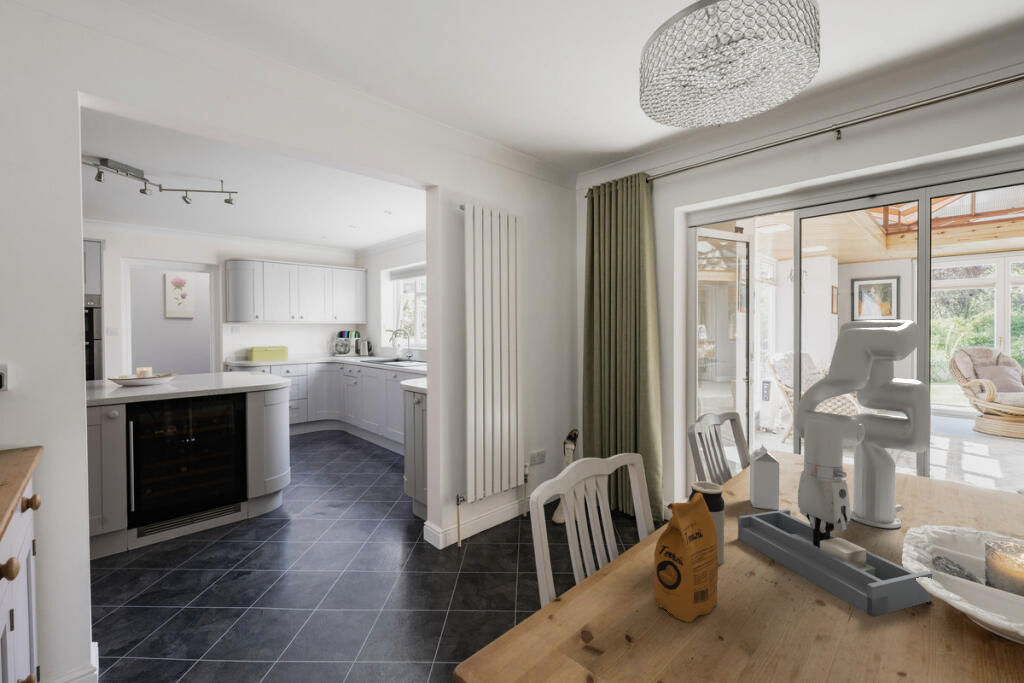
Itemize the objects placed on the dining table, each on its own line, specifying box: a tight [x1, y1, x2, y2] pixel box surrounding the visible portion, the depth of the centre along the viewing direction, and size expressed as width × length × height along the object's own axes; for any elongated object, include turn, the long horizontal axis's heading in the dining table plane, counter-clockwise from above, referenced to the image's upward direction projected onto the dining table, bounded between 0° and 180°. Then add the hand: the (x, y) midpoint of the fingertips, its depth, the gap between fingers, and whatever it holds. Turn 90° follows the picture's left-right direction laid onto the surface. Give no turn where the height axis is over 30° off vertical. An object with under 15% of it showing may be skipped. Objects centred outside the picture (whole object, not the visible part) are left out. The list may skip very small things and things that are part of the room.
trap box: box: [737, 508, 933, 618], centre depth 105 cm, size 17×34×6 cm, turn 16°
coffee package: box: [653, 493, 719, 623], centre depth 90 cm, size 10×12×22 cm
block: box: [820, 536, 867, 569], centre depth 100 cm, size 6×6×4 cm
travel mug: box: [688, 480, 725, 566], centre depth 109 cm, size 8×8×18 cm
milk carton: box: [749, 443, 780, 511], centre depth 141 cm, size 7×7×19 cm
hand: (821, 546), depth 105 cm, fingers closed
